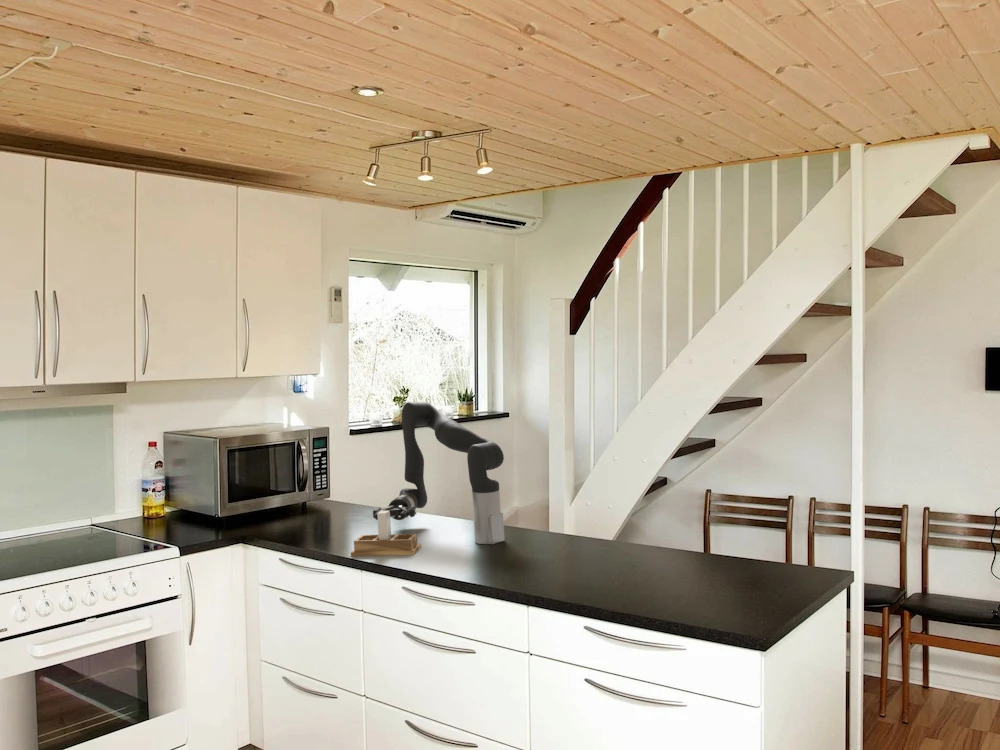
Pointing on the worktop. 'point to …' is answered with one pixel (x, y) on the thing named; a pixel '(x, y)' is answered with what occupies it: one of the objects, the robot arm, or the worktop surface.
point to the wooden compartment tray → (386, 545)
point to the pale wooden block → (384, 525)
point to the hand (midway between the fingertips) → (389, 516)
